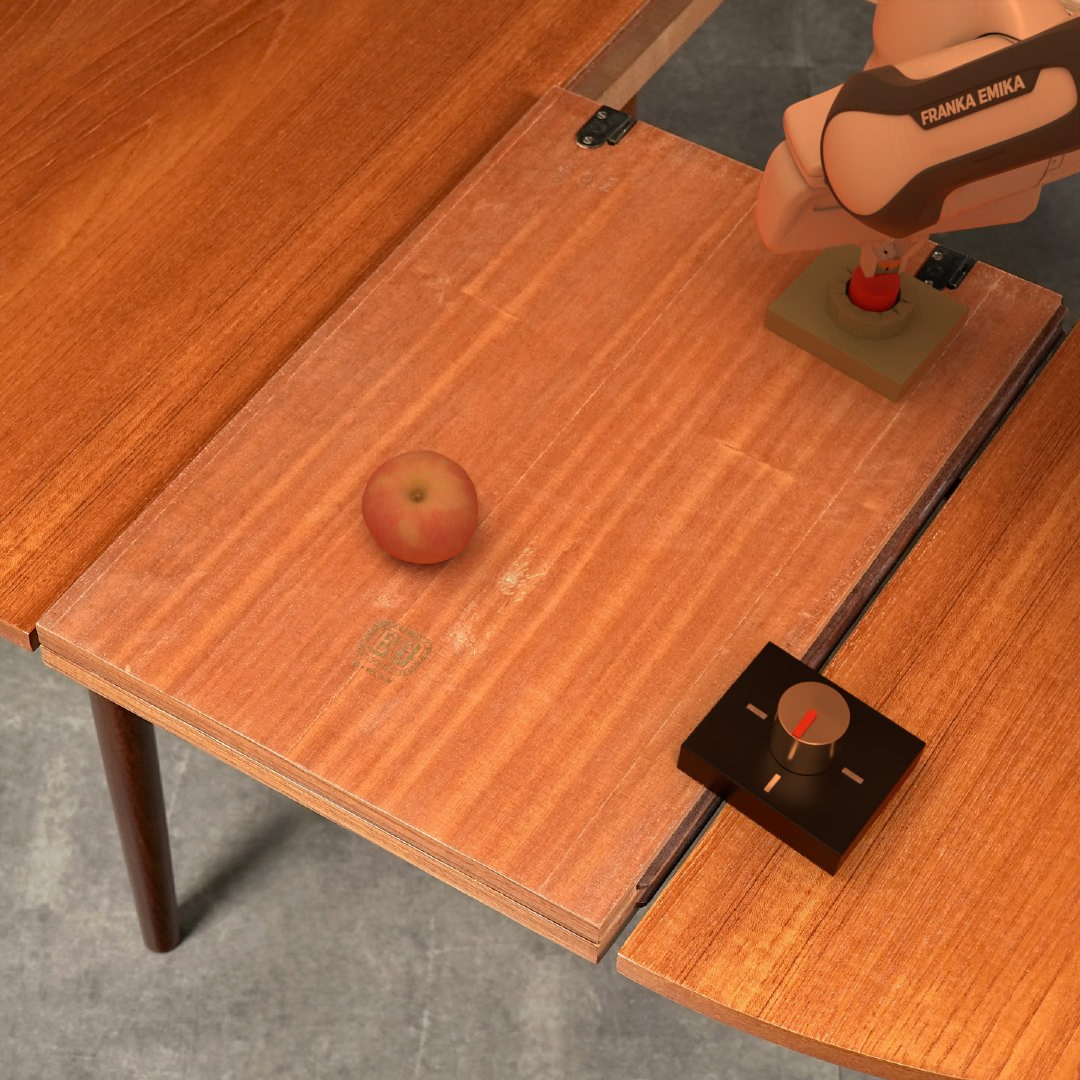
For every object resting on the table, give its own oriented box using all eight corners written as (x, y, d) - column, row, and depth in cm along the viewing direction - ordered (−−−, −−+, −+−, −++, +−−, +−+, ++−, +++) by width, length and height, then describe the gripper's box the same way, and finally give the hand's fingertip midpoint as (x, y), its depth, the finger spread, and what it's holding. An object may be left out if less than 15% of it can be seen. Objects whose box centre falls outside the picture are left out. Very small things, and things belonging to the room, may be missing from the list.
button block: (963, 327, 131) (975, 291, 128) (896, 403, 127) (906, 368, 124) (833, 255, 136) (841, 218, 132) (763, 327, 131) (770, 291, 128)
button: (905, 292, 128) (909, 276, 127) (879, 319, 127) (884, 303, 125) (864, 270, 130) (868, 254, 128) (839, 297, 128) (843, 281, 127)
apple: (347, 563, 118) (338, 495, 111) (397, 484, 122) (392, 413, 115) (450, 605, 116) (447, 538, 109) (497, 522, 120) (498, 453, 113)
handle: (793, 700, 109) (803, 666, 105) (852, 738, 107) (864, 705, 104) (755, 748, 107) (764, 715, 103) (815, 788, 105) (826, 755, 102)
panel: (917, 764, 110) (927, 741, 107) (833, 877, 105) (841, 855, 102) (763, 663, 114) (769, 638, 111) (676, 767, 109) (680, 744, 106)
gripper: (1046, 75, 117) (998, 221, 129) (762, 110, 115) (738, 257, 126) (1081, 135, 114) (1029, 281, 125) (788, 173, 111) (762, 318, 123)
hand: (881, 269), depth 126 cm, fingers closed
